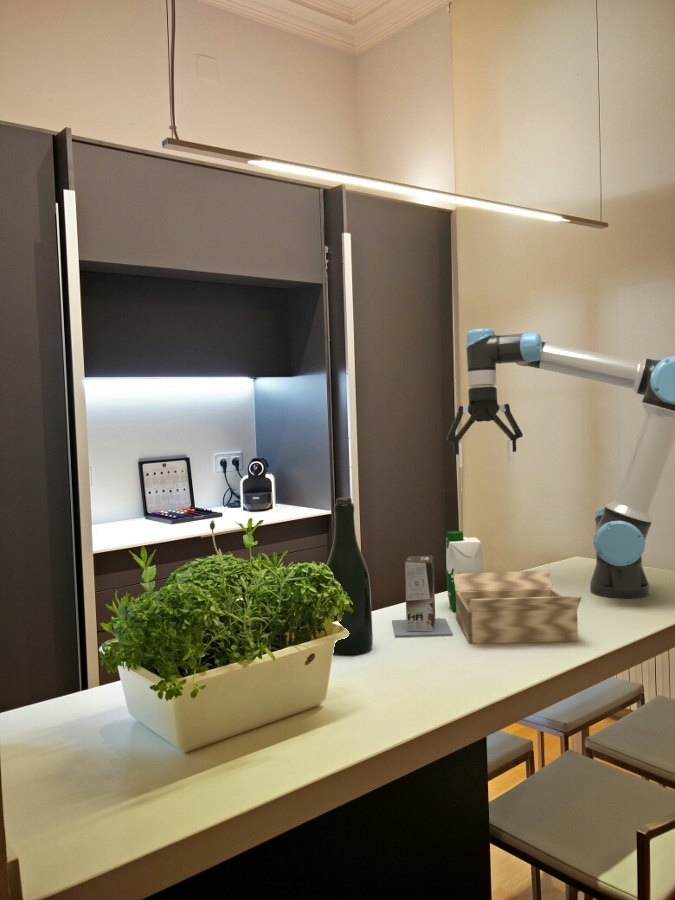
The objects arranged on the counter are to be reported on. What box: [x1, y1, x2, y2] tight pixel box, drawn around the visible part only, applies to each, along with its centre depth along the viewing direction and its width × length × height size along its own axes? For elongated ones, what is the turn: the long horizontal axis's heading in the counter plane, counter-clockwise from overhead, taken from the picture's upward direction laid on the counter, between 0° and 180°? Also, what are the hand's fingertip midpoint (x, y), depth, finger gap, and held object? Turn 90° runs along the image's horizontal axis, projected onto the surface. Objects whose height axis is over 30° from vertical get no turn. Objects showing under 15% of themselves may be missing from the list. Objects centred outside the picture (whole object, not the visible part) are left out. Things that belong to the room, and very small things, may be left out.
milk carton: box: [445, 530, 484, 613], centre depth 194 cm, size 9×9×20 cm
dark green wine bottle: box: [326, 497, 374, 656], centre depth 163 cm, size 10×10×33 cm
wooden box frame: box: [453, 570, 583, 645], centre depth 174 cm, size 24×27×11 cm
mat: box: [391, 618, 454, 638], centre depth 177 cm, size 13×13×1 cm
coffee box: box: [404, 555, 436, 632], centre depth 177 cm, size 9×6×16 cm
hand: (485, 465), depth 204 cm, fingers open, 13 cm apart
